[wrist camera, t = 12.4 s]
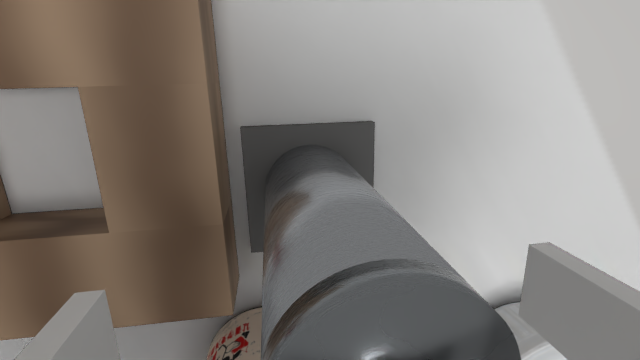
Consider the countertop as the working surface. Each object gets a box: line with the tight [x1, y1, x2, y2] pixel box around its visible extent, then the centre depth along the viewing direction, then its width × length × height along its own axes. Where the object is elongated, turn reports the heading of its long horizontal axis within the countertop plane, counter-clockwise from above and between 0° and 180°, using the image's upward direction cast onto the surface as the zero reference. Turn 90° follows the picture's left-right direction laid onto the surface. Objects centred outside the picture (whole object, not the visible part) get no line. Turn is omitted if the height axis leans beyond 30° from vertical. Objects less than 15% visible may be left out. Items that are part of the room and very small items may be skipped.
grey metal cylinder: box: [261, 145, 521, 360], centre depth 14 cm, size 6×6×15 cm
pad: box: [240, 121, 375, 253], centre depth 22 cm, size 8×8×1 cm
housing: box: [0, 0, 239, 340], centre depth 17 cm, size 18×18×4 cm
